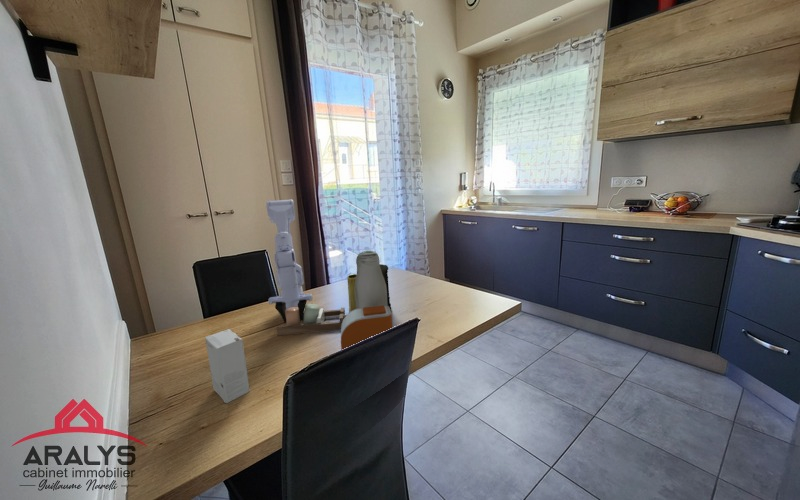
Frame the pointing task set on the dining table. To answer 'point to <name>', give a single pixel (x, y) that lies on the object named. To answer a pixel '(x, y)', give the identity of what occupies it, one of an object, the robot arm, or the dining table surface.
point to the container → (386, 281)
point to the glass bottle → (369, 281)
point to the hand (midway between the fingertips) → (293, 320)
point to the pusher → (321, 316)
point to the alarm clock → (364, 324)
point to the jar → (292, 316)
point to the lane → (316, 326)
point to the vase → (351, 291)
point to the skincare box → (227, 365)
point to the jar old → (310, 314)
